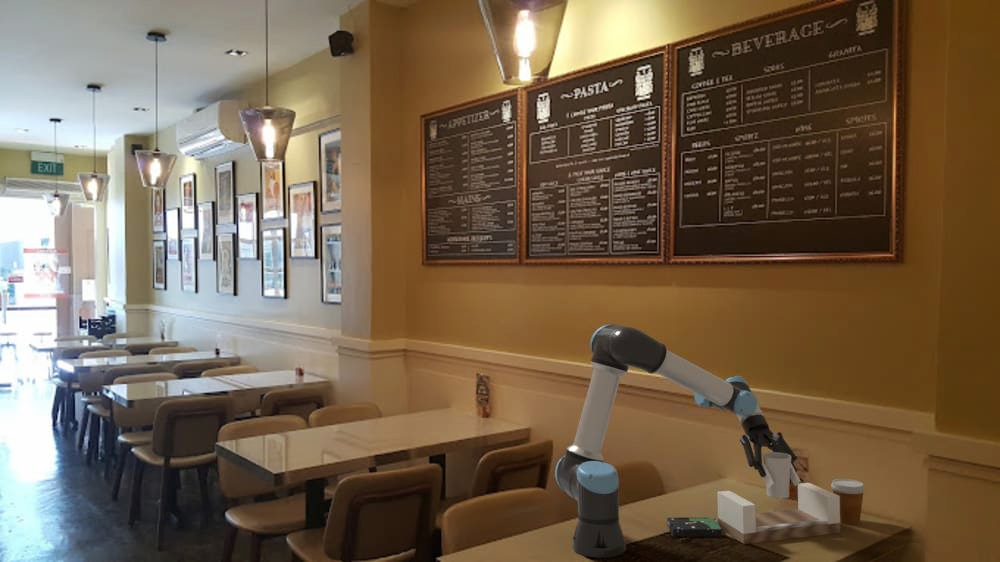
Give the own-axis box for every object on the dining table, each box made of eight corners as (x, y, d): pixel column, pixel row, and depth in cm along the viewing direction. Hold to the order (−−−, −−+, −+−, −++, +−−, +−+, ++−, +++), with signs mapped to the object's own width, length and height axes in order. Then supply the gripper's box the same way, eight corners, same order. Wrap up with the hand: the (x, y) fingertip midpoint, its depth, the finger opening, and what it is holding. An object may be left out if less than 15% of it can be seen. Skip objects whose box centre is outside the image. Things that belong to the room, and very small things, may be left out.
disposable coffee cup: (845, 528, 212) (844, 488, 212) (824, 517, 221) (824, 479, 221) (872, 525, 214) (872, 485, 214) (851, 514, 223) (850, 477, 223)
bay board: (743, 544, 201) (743, 531, 201) (718, 527, 215) (717, 515, 215) (840, 532, 208) (840, 520, 208) (809, 517, 222) (809, 505, 222)
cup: (758, 495, 212) (758, 455, 212) (771, 489, 217) (770, 450, 217) (784, 501, 206) (783, 460, 206) (796, 494, 211) (795, 455, 211)
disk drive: (672, 538, 208) (723, 538, 207) (672, 529, 208) (723, 528, 207) (666, 526, 219) (715, 525, 218) (666, 517, 219) (714, 516, 218)
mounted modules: (743, 533, 201) (742, 506, 201) (717, 517, 215) (717, 491, 215) (840, 522, 208) (839, 495, 208) (809, 507, 222) (808, 482, 222)
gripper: (776, 424, 229) (809, 487, 213) (718, 428, 224) (748, 494, 208) (786, 411, 223) (820, 475, 208) (727, 415, 219) (758, 481, 203)
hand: (784, 484), depth 208 cm, fingers closed on cup, 8 cm apart
